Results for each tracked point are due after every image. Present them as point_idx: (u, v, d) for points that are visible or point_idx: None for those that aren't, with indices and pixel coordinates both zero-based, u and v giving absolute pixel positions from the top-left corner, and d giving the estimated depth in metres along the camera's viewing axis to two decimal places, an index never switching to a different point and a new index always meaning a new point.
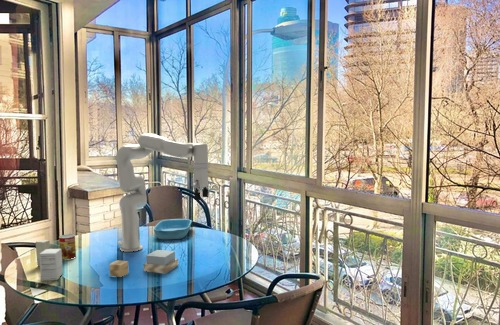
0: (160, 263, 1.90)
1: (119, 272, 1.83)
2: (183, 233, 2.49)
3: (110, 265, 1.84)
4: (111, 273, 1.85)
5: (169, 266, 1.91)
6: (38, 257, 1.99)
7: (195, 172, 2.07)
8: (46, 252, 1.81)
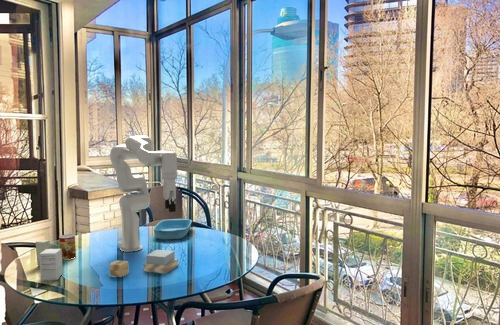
0: (160, 263, 1.90)
1: (119, 272, 1.83)
2: (183, 233, 2.49)
3: (110, 265, 1.84)
4: (111, 273, 1.85)
5: (169, 266, 1.91)
6: (38, 257, 1.99)
7: (169, 182, 1.96)
8: (46, 252, 1.81)
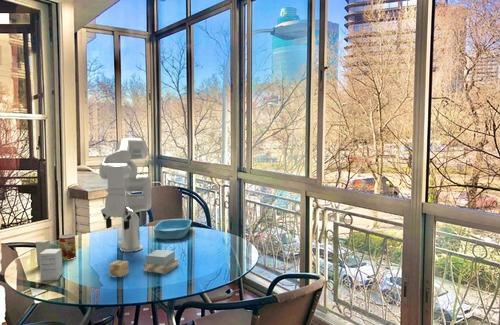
0: (160, 263, 1.90)
1: (119, 272, 1.83)
2: (182, 233, 2.49)
3: (110, 265, 1.84)
4: (111, 273, 1.85)
5: (169, 266, 1.91)
6: (38, 257, 1.99)
7: (124, 198, 1.82)
8: (46, 252, 1.81)
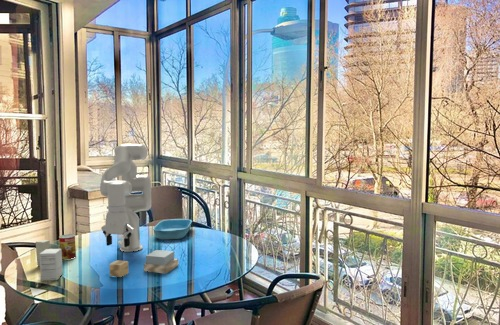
0: (160, 263, 1.90)
1: (119, 272, 1.83)
2: (182, 233, 2.49)
3: (110, 265, 1.84)
4: (111, 273, 1.85)
5: (169, 266, 1.91)
6: (38, 257, 1.99)
7: (124, 215, 1.82)
8: (46, 252, 1.81)
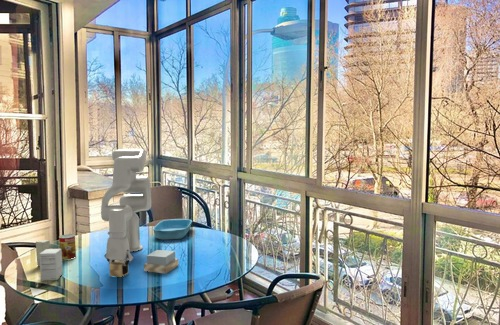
0: (161, 263, 1.90)
1: (119, 272, 1.83)
2: (182, 233, 2.49)
3: (110, 265, 1.84)
4: (111, 273, 1.85)
5: (169, 266, 1.91)
6: (38, 257, 1.99)
7: (125, 241, 1.83)
8: (46, 252, 1.81)
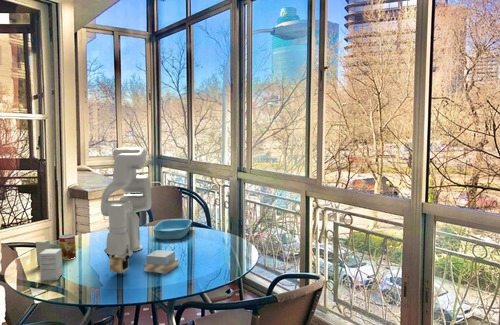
0: (160, 263, 1.90)
1: (119, 267, 1.83)
2: (182, 233, 2.49)
3: (110, 260, 1.85)
4: (111, 268, 1.85)
5: (169, 266, 1.91)
6: (38, 257, 1.99)
7: (125, 237, 1.83)
8: (46, 252, 1.81)
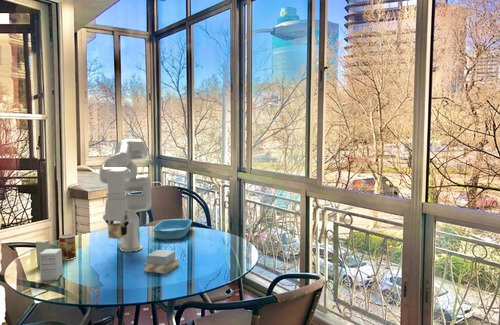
0: (161, 263, 1.90)
1: (118, 233, 1.82)
2: (182, 233, 2.49)
3: (109, 226, 1.83)
4: (110, 234, 1.84)
5: (169, 266, 1.91)
6: (38, 257, 1.99)
7: (124, 202, 1.82)
8: (46, 252, 1.81)
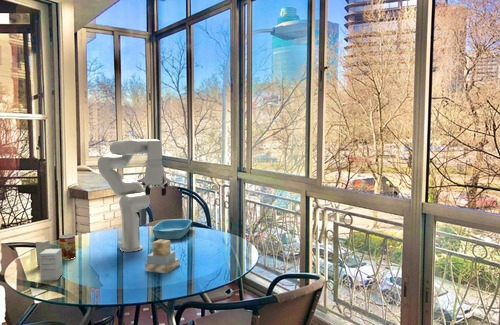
0: (161, 263, 1.90)
1: (162, 250, 1.91)
2: (180, 233, 2.48)
3: (153, 243, 1.93)
4: (154, 251, 1.93)
5: (170, 266, 1.92)
6: (38, 257, 1.99)
7: (161, 168, 2.09)
8: (46, 252, 1.81)
